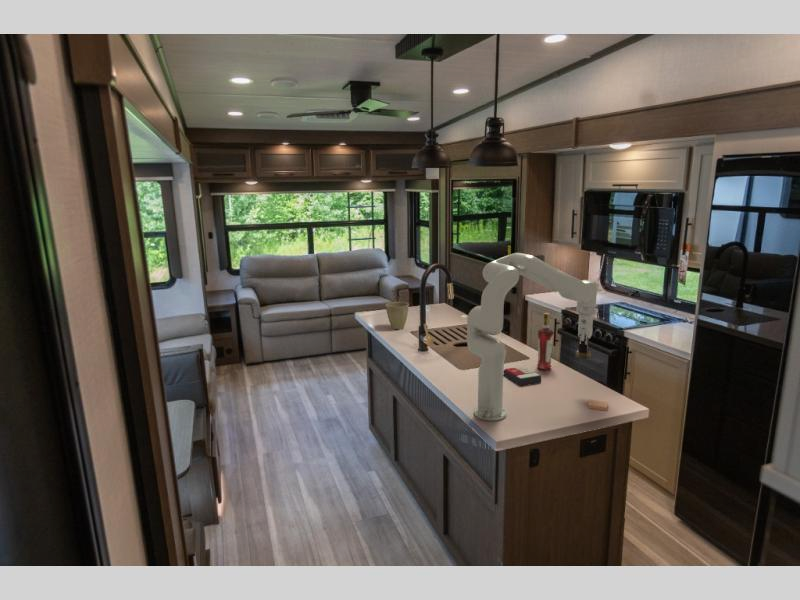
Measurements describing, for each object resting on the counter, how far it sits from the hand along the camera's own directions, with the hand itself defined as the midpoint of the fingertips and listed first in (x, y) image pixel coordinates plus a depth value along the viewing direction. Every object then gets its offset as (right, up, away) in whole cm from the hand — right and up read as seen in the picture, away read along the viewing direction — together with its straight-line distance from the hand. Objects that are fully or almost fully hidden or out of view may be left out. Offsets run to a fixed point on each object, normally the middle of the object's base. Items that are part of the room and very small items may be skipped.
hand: (583, 351), depth 214 cm
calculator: (-21, -16, +22) cm, 34 cm away
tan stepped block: (0, -3, +1) cm, 3 cm away
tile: (+4, -20, -7) cm, 22 cm away
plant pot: (-80, +3, +109) cm, 135 cm away
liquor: (-7, -12, +34) cm, 37 cm away
